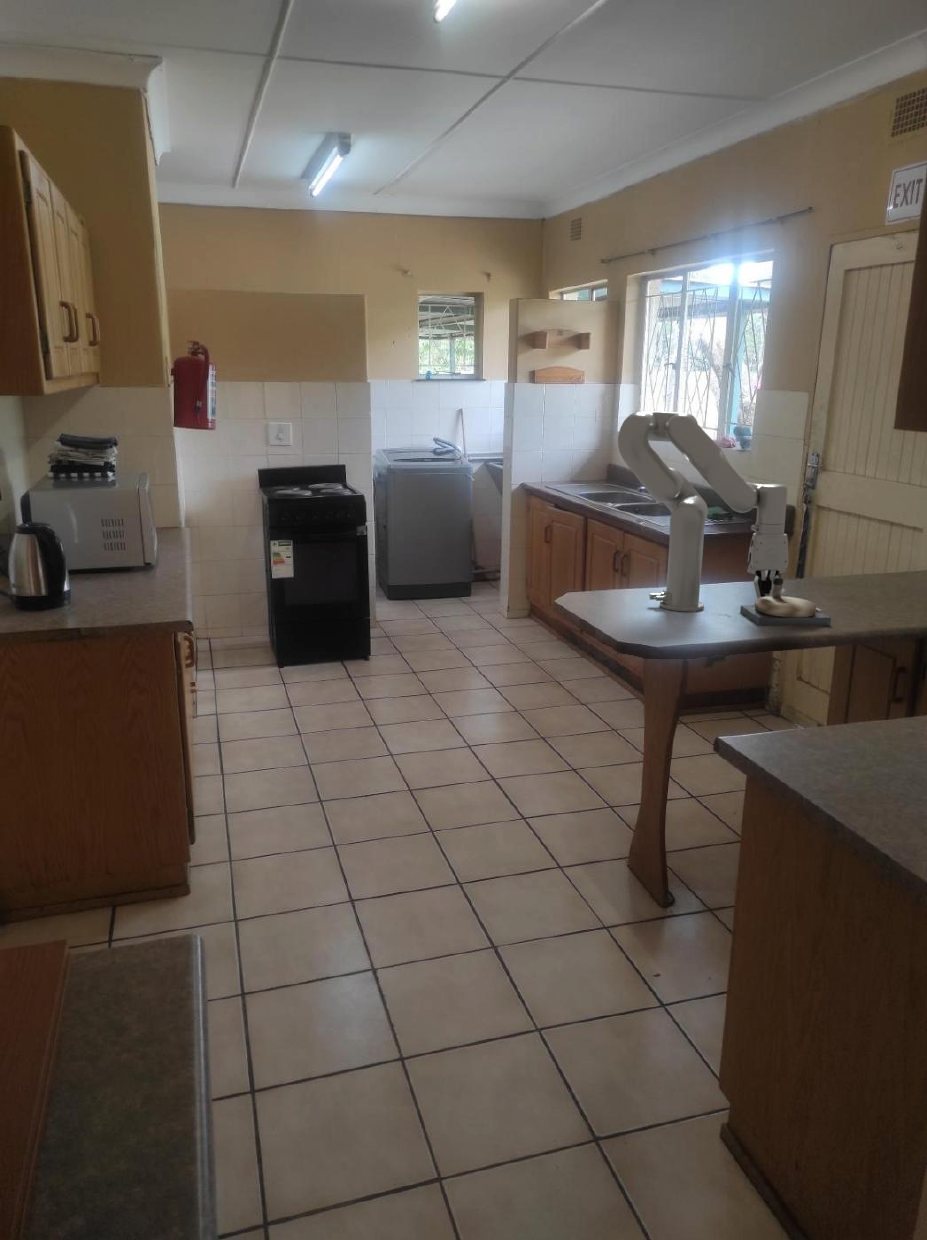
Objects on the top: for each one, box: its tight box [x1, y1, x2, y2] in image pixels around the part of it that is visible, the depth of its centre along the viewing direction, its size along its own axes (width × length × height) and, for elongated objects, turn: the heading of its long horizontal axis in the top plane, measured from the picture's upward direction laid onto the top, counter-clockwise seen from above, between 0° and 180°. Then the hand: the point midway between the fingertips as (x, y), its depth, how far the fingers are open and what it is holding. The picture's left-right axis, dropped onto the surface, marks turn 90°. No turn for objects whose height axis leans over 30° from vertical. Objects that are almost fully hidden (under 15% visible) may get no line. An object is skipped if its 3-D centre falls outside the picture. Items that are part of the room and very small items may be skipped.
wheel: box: [754, 576, 817, 617], centre depth 243 cm, size 16×16×8 cm
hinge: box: [753, 570, 788, 599], centre depth 266 cm, size 17×5×10 cm, turn 149°
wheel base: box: [739, 604, 832, 627], centre depth 244 cm, size 20×14×3 cm
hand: (764, 593), depth 248 cm, fingers closed
